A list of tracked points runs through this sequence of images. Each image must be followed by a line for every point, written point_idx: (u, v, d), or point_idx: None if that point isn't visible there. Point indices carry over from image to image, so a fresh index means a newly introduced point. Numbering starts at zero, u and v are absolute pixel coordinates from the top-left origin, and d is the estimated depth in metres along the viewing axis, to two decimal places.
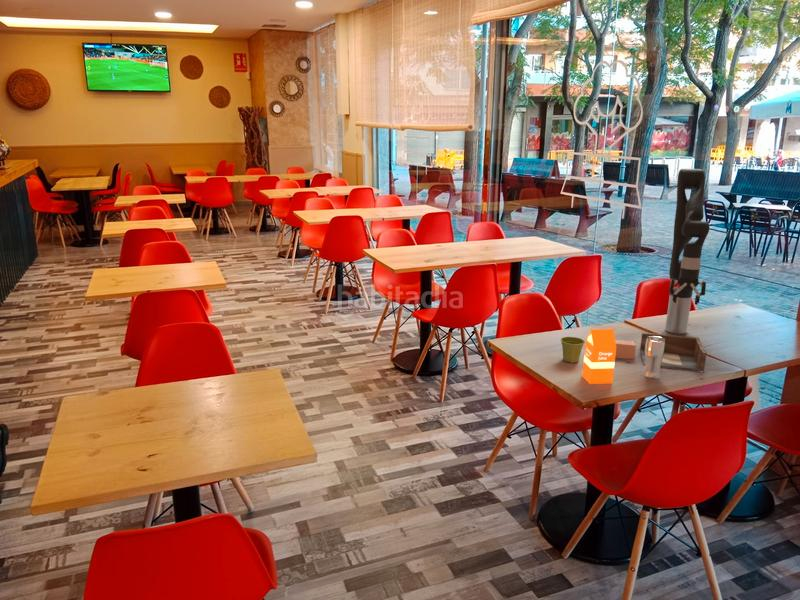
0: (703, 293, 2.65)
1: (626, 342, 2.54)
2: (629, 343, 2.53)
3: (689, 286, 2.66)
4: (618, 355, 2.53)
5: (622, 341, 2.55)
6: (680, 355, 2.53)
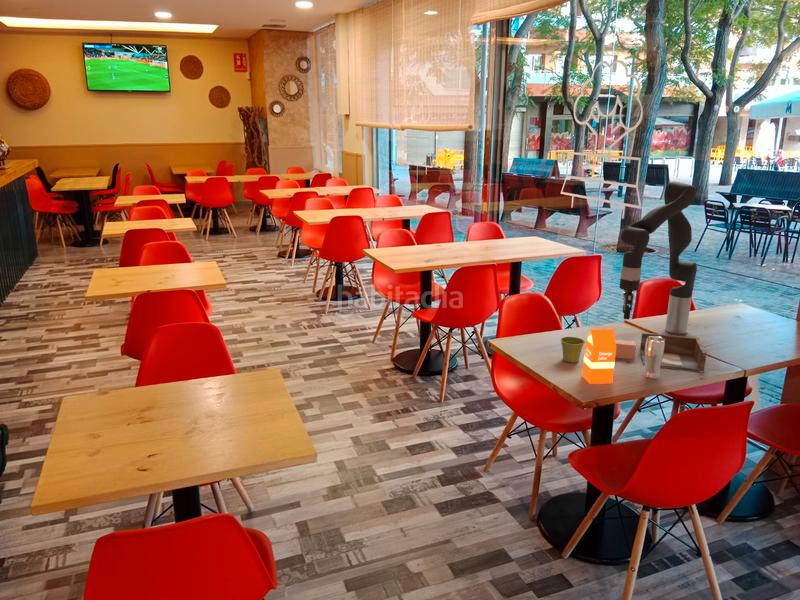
0: None
1: (626, 342, 2.54)
2: (629, 343, 2.53)
3: None
4: (618, 355, 2.53)
5: (622, 341, 2.55)
6: (680, 355, 2.53)
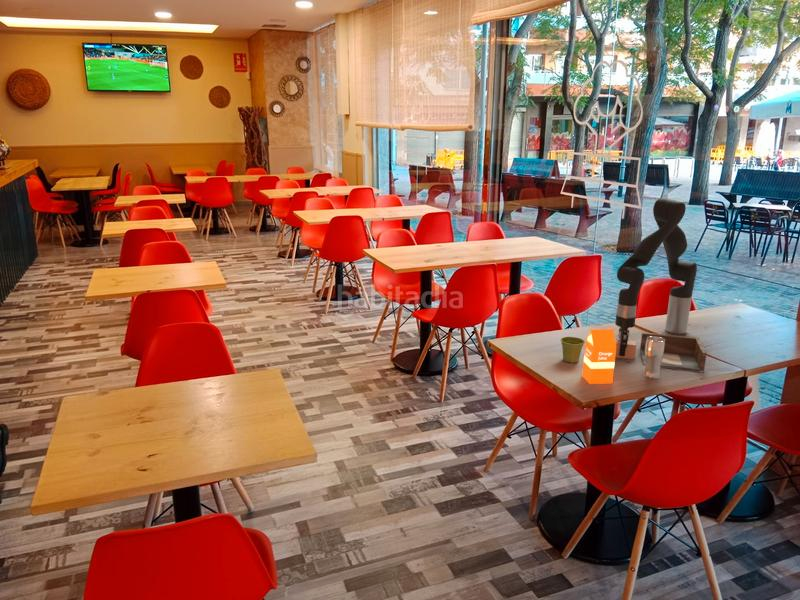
0: None
1: None
2: (629, 343, 2.52)
3: None
4: (618, 355, 2.53)
5: None
6: (680, 355, 2.53)
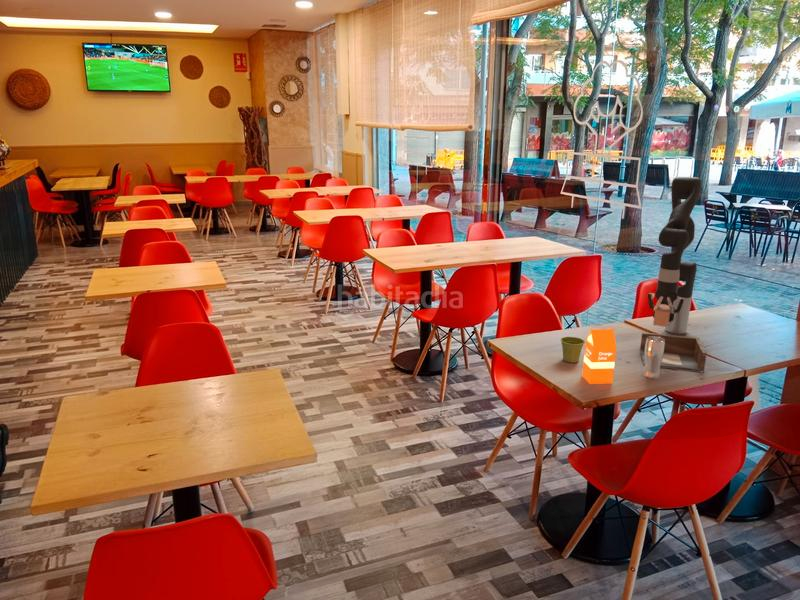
0: None
1: (664, 307, 2.46)
2: (667, 307, 2.47)
3: None
4: (668, 322, 2.44)
5: (661, 307, 2.45)
6: (680, 355, 2.53)
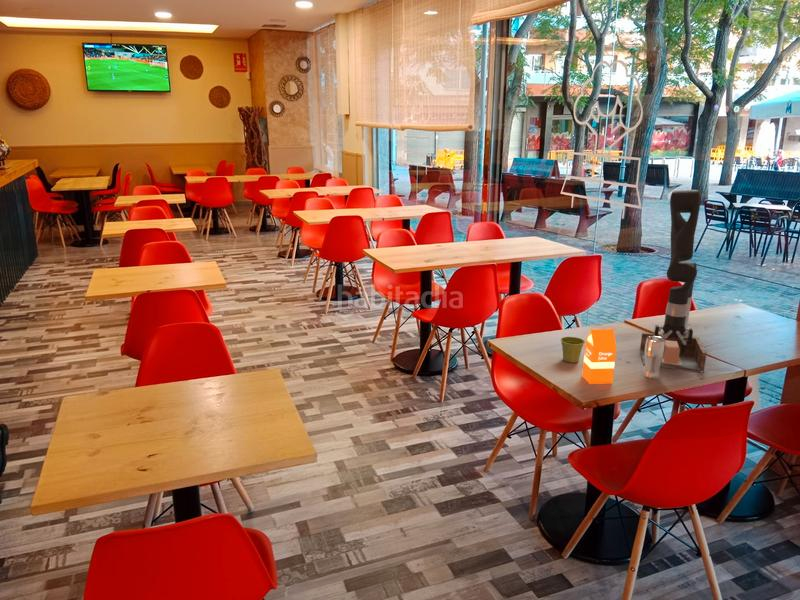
0: None
1: (670, 343, 2.49)
2: (672, 342, 2.50)
3: None
4: None
5: (668, 344, 2.48)
6: (680, 355, 2.53)
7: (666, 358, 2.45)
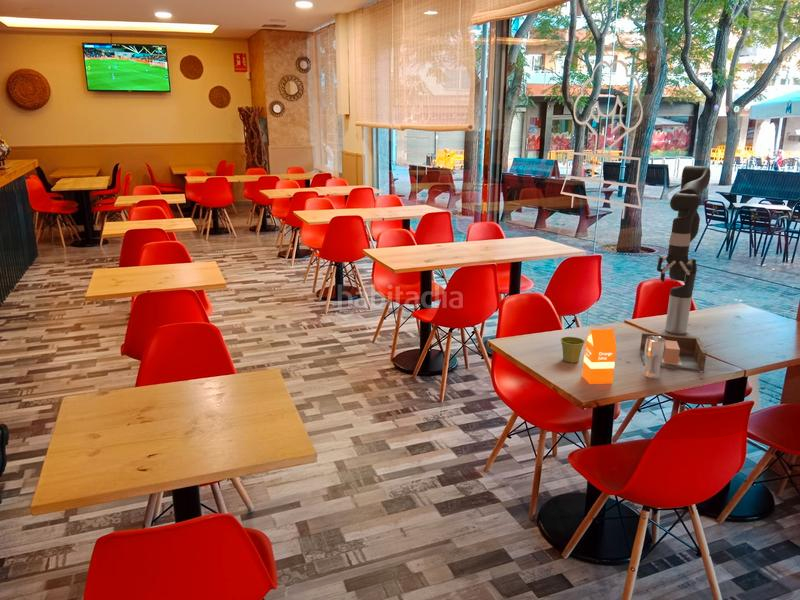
0: None
1: (670, 343, 2.49)
2: (672, 342, 2.50)
3: None
4: None
5: (668, 344, 2.48)
6: (680, 355, 2.53)
7: (666, 358, 2.45)
